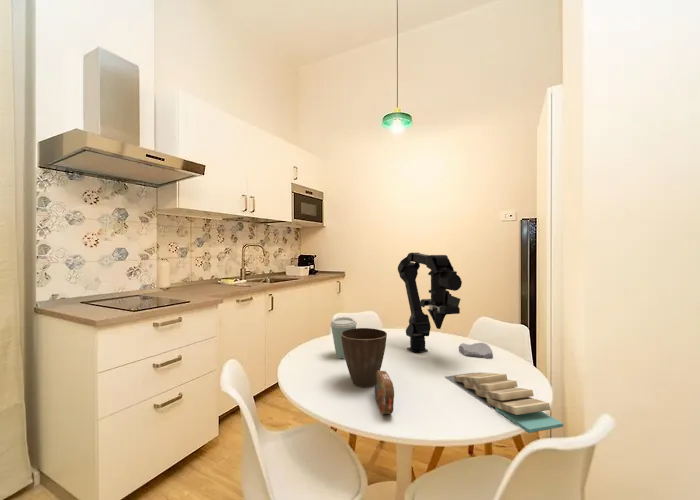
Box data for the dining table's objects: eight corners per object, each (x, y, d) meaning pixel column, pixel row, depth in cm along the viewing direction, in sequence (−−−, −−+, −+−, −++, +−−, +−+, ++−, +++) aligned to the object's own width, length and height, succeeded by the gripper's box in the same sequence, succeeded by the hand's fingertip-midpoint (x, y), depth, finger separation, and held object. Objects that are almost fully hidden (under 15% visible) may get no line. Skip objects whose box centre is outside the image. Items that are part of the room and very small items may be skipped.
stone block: (495, 363, 124) (486, 350, 134) (496, 352, 123) (486, 340, 133) (464, 364, 125) (457, 351, 134) (465, 353, 124) (458, 340, 133)
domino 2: (463, 382, 97) (487, 385, 87) (489, 378, 100) (516, 380, 90) (464, 388, 96) (489, 391, 86) (490, 383, 99) (517, 386, 89)
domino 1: (453, 376, 101) (478, 378, 90) (479, 372, 104) (506, 374, 93) (454, 381, 101) (479, 384, 90) (480, 377, 104) (507, 379, 93)
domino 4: (486, 397, 86) (514, 407, 76) (517, 393, 89) (549, 402, 78) (487, 403, 86) (516, 414, 76) (518, 399, 88) (550, 409, 78)
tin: (373, 394, 93) (373, 365, 93) (384, 393, 94) (384, 365, 94) (383, 421, 78) (383, 387, 78) (395, 420, 78) (395, 387, 79)
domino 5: (495, 406, 83) (529, 429, 72) (526, 402, 85) (563, 423, 75) (495, 413, 83) (529, 436, 72) (526, 408, 85) (563, 430, 75)
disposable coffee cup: (356, 361, 121) (356, 322, 121) (329, 360, 121) (329, 322, 121) (356, 352, 132) (356, 316, 132) (331, 352, 132) (331, 316, 132)
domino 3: (475, 389, 91) (500, 393, 81) (504, 386, 94) (532, 389, 84) (476, 395, 91) (501, 400, 81) (505, 391, 93) (533, 396, 83)
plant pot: (331, 381, 102) (331, 332, 102) (365, 370, 112) (365, 325, 112) (362, 397, 91) (362, 342, 91) (396, 383, 100) (396, 333, 100)
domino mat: (443, 377, 105) (443, 376, 105) (474, 373, 108) (474, 372, 108) (490, 409, 84) (490, 408, 84) (526, 403, 87) (526, 401, 87)
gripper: (472, 289, 112) (472, 333, 112) (443, 284, 130) (443, 322, 130) (445, 290, 109) (445, 335, 109) (419, 285, 127) (419, 323, 127)
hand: (438, 328), depth 119 cm, fingers closed
